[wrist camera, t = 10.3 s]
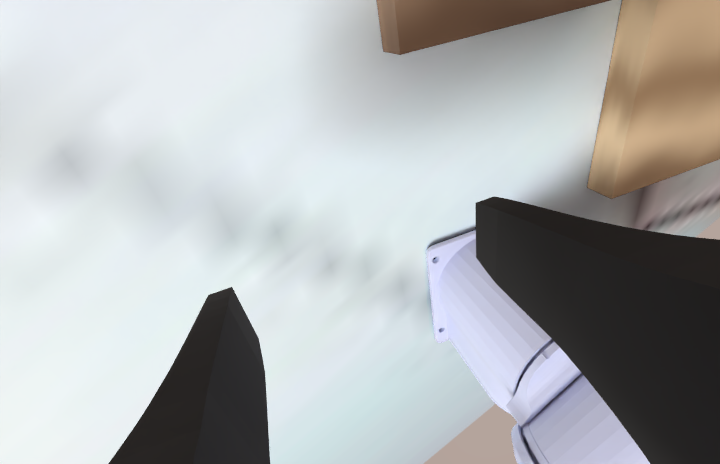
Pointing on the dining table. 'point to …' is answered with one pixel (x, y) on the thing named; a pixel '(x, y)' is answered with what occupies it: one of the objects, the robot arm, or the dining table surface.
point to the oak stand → (659, 95)
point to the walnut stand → (458, 19)
